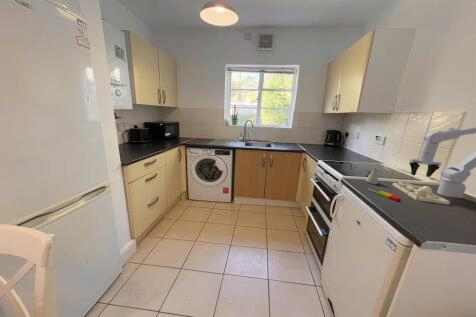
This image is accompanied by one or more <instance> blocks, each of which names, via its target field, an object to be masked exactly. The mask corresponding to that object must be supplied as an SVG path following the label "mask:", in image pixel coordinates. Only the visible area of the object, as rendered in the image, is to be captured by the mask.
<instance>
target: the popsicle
mask: <svg viewBox="0 0 476 317" xmlns="http://www.w3.org/2000/svg"><path fill="white" fill-rule="evenodd" d="M366 190H368V191H371V192H373V193H375V194H376V195H377V196H380V197H384V198H386V199H389V200H391V201H394V202H400V200H401V196H399V195H395V194H392V193H389V192H387V191H383V190H379V191H376V190H373V189H371V188H366Z"/></svg>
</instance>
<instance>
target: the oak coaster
mask: <svg viewBox="0 0 476 317" xmlns="http://www.w3.org/2000/svg"><path fill="white" fill-rule="evenodd" d="M397 183H399V184H406V185H413V184H412V183H409V182H405V181H398V182H397Z"/></svg>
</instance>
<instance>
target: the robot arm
mask: <svg viewBox="0 0 476 317" xmlns="http://www.w3.org/2000/svg"><path fill="white" fill-rule="evenodd" d="M472 134H473V135H474V134H476V125H474V126H470V127H465V128H461V129H458V128H454V127H449V128H448V129H444V130H437V131H436V132H433V131H431V132H428V133H426V134H425V135H424V136H423V140H424V143H423V147H422V148H421V152H420V155H419V158H418V159H417V158H416V159H415V158H410V159H409V161H408V162H409V166H410V172H411V173H410V174H411V176H416V174H417V171H418V170H419V169H420V168H419V167H421V165H420V164H422V165H427V171H426V174H425V176H426V177H427V178H430V177H431V176H432V175H433V174H434V173H435V172H436V171H437V170H439V169H440V168H441V165H442V162H440V161H435V160H434V159H435V156H436V154H437V150H438V148H439V145H440V144H441V143H442V142H445V141H450V140H456V139H459V138H460V137H461V136H466V135H472ZM474 168H476V150H475V151H474V152H473V153H472V154H470V155H469V156H467V157H466V158H464V159H463V160H461V161H460V162H459V163H457V164H453V165H450V166H449V167H446V168H444V169H442V170H441V171H440V176H441V177H442V178H441V181H440V183H439V186H438V189H437V191H436V193H437V194H439V195H441V196H444V197H449V198H458V199H462V198H463V197H464V195H465V192H466V188H467V186H466V184H465V183H464V182H466V181H467V180H468V177H470V176H471V174H472V173H471V171H473V169H474Z"/></svg>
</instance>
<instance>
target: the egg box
mask: <svg viewBox="0 0 476 317" xmlns="http://www.w3.org/2000/svg"><path fill="white" fill-rule="evenodd" d="M392 186H393V187H395V188H396V189H398V190H400V191H401V192H403V193H404V194H405V195H408V196H409V197H411V198H413V199H414V200H416V201H418V202H419V201H420V202H426V203H435V204H442V205H448V206H449V205H450V204H451V201H450V200H448V199H446V198H444V197H442V196H440V195H438V194H435V193H434V192H433V191H432V192H431V195H430V194H427V196H426V198H423V197H418V196H416V195H415V192H416V190H417V189H421V188H422V187H423V186H419V185H414V184H412V185H406V184H400V183H398V182H392Z"/></svg>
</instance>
